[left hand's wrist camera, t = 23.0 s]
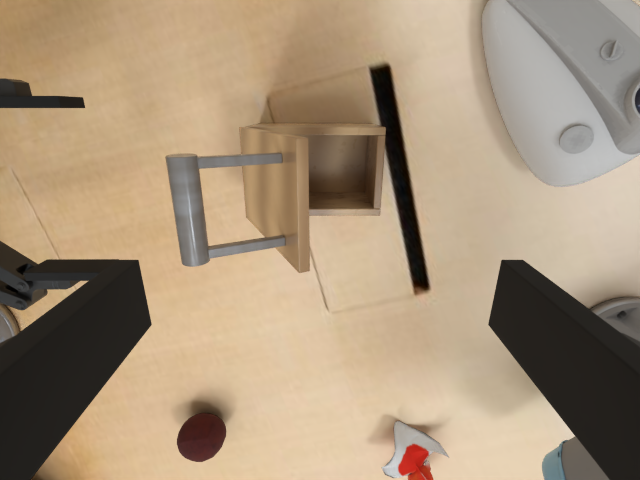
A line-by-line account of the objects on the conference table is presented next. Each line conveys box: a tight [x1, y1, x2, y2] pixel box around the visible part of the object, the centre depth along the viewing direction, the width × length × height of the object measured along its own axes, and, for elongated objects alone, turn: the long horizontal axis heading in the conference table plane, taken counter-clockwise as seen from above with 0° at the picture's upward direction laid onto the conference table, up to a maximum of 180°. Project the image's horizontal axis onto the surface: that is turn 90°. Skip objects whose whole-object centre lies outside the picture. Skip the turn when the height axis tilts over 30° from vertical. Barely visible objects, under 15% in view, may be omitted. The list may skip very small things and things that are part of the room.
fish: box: [381, 421, 449, 480], centre depth 60 cm, size 11×16×10 cm
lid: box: [166, 127, 310, 273], centre depth 28 cm, size 15×9×8 cm
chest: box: [247, 123, 386, 216], centre depth 41 cm, size 14×9×9 cm, turn 90°
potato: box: [177, 413, 226, 462], centre depth 58 cm, size 7×8×7 cm
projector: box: [482, 0, 640, 187], centre depth 35 cm, size 22×23×15 cm
